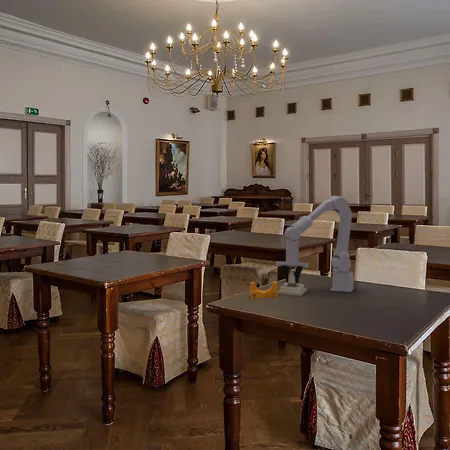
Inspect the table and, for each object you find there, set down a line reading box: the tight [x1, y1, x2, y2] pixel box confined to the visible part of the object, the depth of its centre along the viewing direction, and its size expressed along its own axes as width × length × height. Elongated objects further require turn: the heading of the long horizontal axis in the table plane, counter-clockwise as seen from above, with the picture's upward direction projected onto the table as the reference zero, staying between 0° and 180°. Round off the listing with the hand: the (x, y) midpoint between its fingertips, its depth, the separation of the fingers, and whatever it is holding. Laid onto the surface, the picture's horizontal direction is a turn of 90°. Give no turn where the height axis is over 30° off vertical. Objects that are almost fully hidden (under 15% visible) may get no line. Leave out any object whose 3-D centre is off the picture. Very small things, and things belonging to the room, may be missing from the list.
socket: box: [278, 282, 308, 297], centre depth 227 cm, size 11×11×3 cm
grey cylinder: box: [287, 269, 298, 287], centre depth 227 cm, size 4×4×7 cm
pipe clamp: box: [249, 281, 279, 299], centre depth 219 cm, size 12×4×6 cm, turn 89°
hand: (292, 282), depth 227 cm, fingers closed on grey cylinder, 4 cm apart
